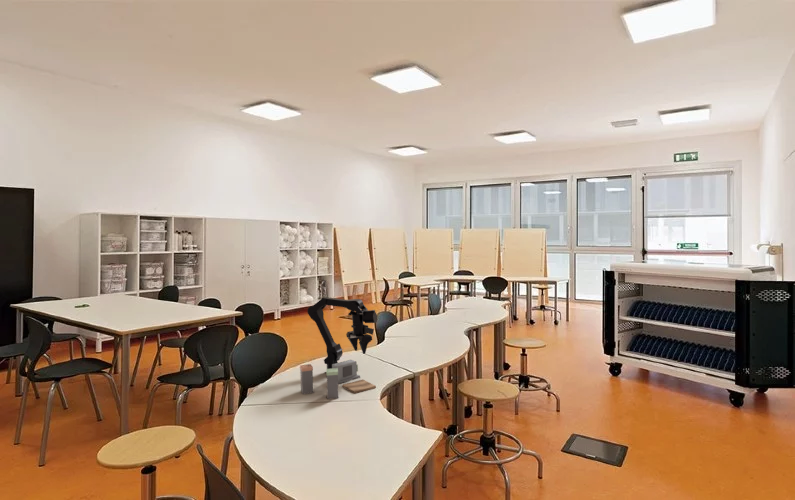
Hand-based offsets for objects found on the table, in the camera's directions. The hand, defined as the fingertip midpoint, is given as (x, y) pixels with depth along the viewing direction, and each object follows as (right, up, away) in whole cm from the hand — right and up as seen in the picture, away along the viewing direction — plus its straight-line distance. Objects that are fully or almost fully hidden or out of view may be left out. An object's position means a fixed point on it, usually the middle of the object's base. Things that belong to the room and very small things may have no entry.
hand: (360, 352), depth 234 cm
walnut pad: (+1, -13, -17) cm, 22 cm away
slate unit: (-8, -13, -5) cm, 16 cm away
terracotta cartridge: (-24, -14, -22) cm, 35 cm away
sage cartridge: (-10, -14, -28) cm, 33 cm away
